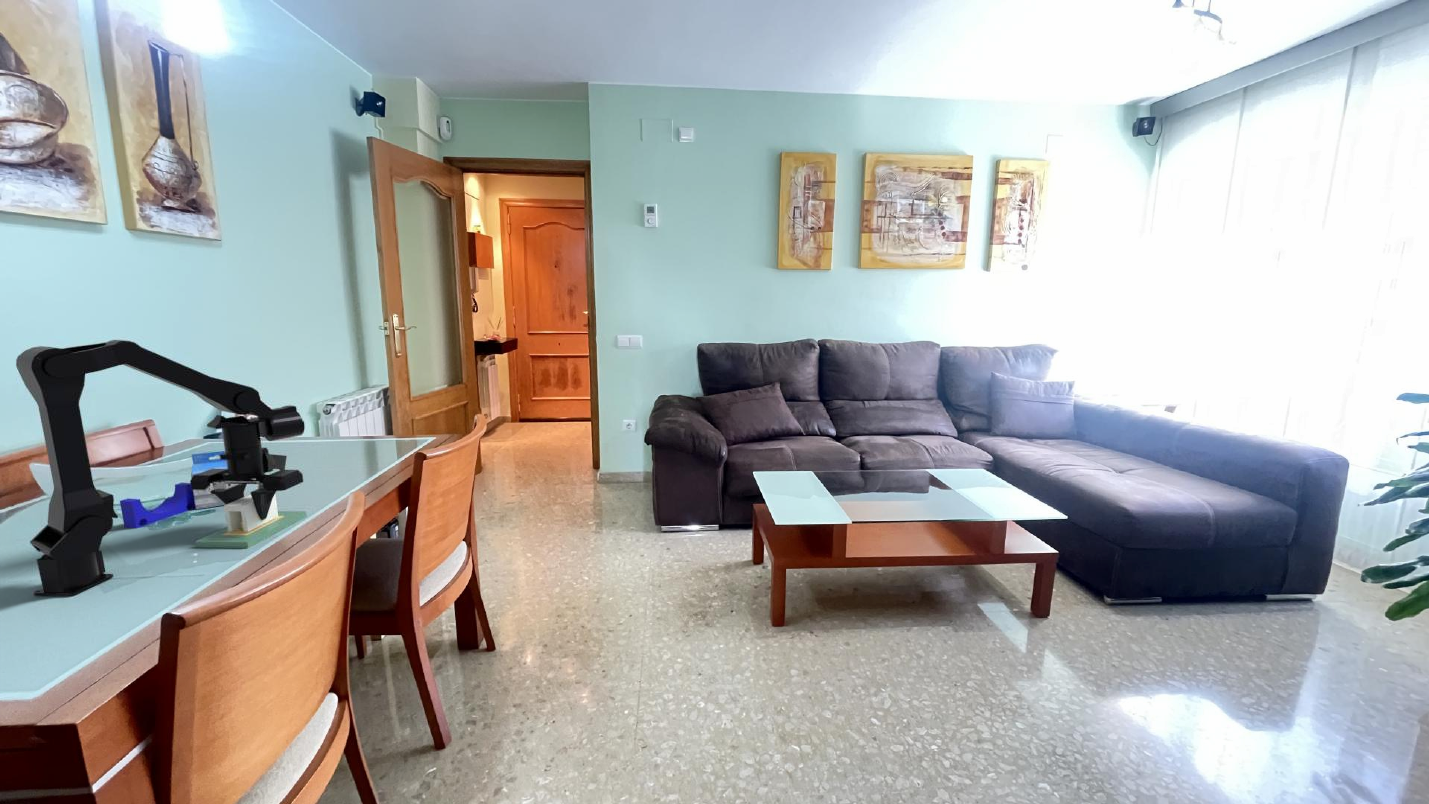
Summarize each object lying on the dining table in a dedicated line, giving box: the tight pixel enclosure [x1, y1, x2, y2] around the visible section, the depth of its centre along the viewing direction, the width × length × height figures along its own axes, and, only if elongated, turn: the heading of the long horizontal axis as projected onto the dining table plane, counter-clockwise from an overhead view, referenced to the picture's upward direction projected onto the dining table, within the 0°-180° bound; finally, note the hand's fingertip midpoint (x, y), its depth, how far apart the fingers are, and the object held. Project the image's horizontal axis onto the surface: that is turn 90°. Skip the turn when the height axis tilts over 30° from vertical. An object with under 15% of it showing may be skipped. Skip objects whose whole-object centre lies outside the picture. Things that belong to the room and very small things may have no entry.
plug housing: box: [223, 493, 279, 532], centre depth 115 cm, size 8×4×6 cm, turn 1°
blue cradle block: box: [119, 482, 196, 529], centre depth 122 cm, size 12×4×6 cm, turn 172°
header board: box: [194, 510, 308, 549], centre depth 116 cm, size 16×10×3 cm, turn 1°
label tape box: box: [190, 450, 248, 510], centre depth 129 cm, size 9×4×12 cm, turn 123°
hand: (253, 519), depth 115 cm, fingers closed on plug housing, 4 cm apart
